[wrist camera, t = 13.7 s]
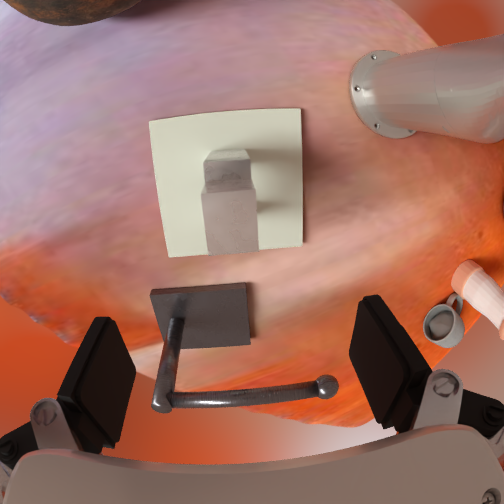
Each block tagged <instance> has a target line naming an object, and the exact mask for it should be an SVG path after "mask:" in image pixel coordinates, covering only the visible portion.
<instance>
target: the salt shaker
mask: <svg viewBox="0 0 504 504" xmlns="http://www.w3.org/2000/svg"><path fill="white" fill-rule="evenodd" d="M451 286H452V289H453V290H454V291H455V292H456V293H457V294H458V295H459V296H460V297H461V298H462V299H464V300H467V301H468V302H469V303H470V304H471V305H472V307H473V308H475V309H476V310H478V311H479V312H480V313H482V314H483V315H485V316H486V317H488V319H489V320H490V321H491V322H492V323H493V324H494V325H495V326H496V327H497V328H498V329H499V335H500V338H501V339H502V340H503V341H504V292H503V291H502V289H501V288H500V287H499V286H498V284H497V283H496V282H495V281H494V279H493V278H491V277H490V276H489V275H487V274H486V273H485V271H484V269H483V268H482V267H481V266H479V265H478V264H477V263H475V262H474V261H473V260H470V259H469V260H466V261H464V262H463V263H461V264H460V265H459V266H458V268H457V269H456V271H455V273H454V275H453V277H452V281H451Z"/></svg>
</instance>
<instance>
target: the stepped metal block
mask: <svg viewBox="0 0 504 504" xmlns="http://www.w3.org/2000/svg"><path fill="white" fill-rule="evenodd" d="M203 168H204V178H205V184H204V187H203V189H202V192H201V202H202V210H203V218H204V226H205V234H206V242H207V249H208V256H213V255H225V254H236V253H248V252H259V240H258V221H257V203H256V189H255V186H254V184H253V181H252V178H251V161H250V157H249V156H248V154H247V152H246V151H245V149H232V150H220V151H210V153H209V154H208V156H207V158H206V159H205V161H204V162H203Z"/></svg>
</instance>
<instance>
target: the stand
mask: <svg viewBox="0 0 504 504" xmlns="http://www.w3.org/2000/svg"><path fill="white" fill-rule="evenodd" d="M150 298H151V302H152V305H153V309H154V312H155V315H156V318H157V322H158V325H159V328H160V331H161V334H162V337H163V340H164V346H163V350H162V355H161V360H160V364H159V369H158V374H157V379H156V384H155V389H154V394H153V399H152V404H151V407H152V408H153V410H155V411H157V412H159V413H169V412H171V411H172V408H219V407H237V406H250V405H261V404H270V403H279V402H286V401H294V400H300V399H307V398H313V397H319V398H321V399H329V398H332V397H333V396H334V395H335V394H336V393H337V391H338V388H339V384H338V381H337V379H336V378H335V377H333V376H332V375H322V376H320V377H318V378H317V379H316V380H315V381H309V382H303V383H296V384H288V385H281V386H272V387H263V388H253V389H241V390H227V391H206V392H174V389H175V381H176V374H177V368H178V361H179V355H180V349H193V348H212V347H227V346H240V345H251V342H250V330H249V319H248V307H247V295H246V284H245V283H235V284H223V285H211V286H197V287H184V288H169V289H153V290H151V293H150Z"/></svg>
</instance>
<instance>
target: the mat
mask: <svg viewBox="0 0 504 504" xmlns="http://www.w3.org/2000/svg"><path fill="white" fill-rule="evenodd" d="M149 128H150V138H151V147H152V156H153V164H154V171H155V179H156V186H157V192H158V199H159V205H160V211H161V217H162V223H163V229H164V234H165V240H166V245H167V250H168V255H169V257H181V256H193V255H204V254H208V249H207V242H206V234H205V226H204V218H203V210H202V202H201V192H202V189H203V187H204V184H205V178H204V168H203V162H204V161H205V159H206V158H207V156H208V154H209V153H210V151H220V150H232V149H245V151H246V152H247V154H248V156H249V157H250V161H251V178H252V181H253V184H254V186H255V189H256V203H257V221H258V240H259V250H263V249H275V248H286V247H298V246H302V239H303V173H302V133H301V109H254V110H237V111H224V112H213V113H204V114H195V115H187V116H180V117H173V118H166V119H160V120H154V121H149Z"/></svg>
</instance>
